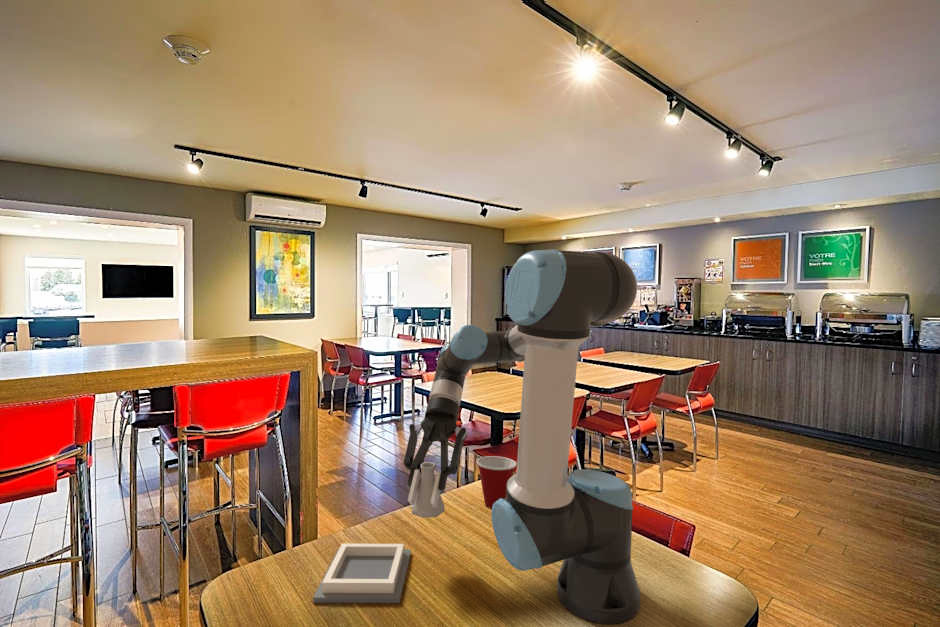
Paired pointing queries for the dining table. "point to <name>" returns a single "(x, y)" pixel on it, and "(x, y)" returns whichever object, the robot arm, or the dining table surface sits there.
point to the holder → (365, 574)
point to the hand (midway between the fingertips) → (422, 503)
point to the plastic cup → (495, 477)
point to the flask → (427, 494)
